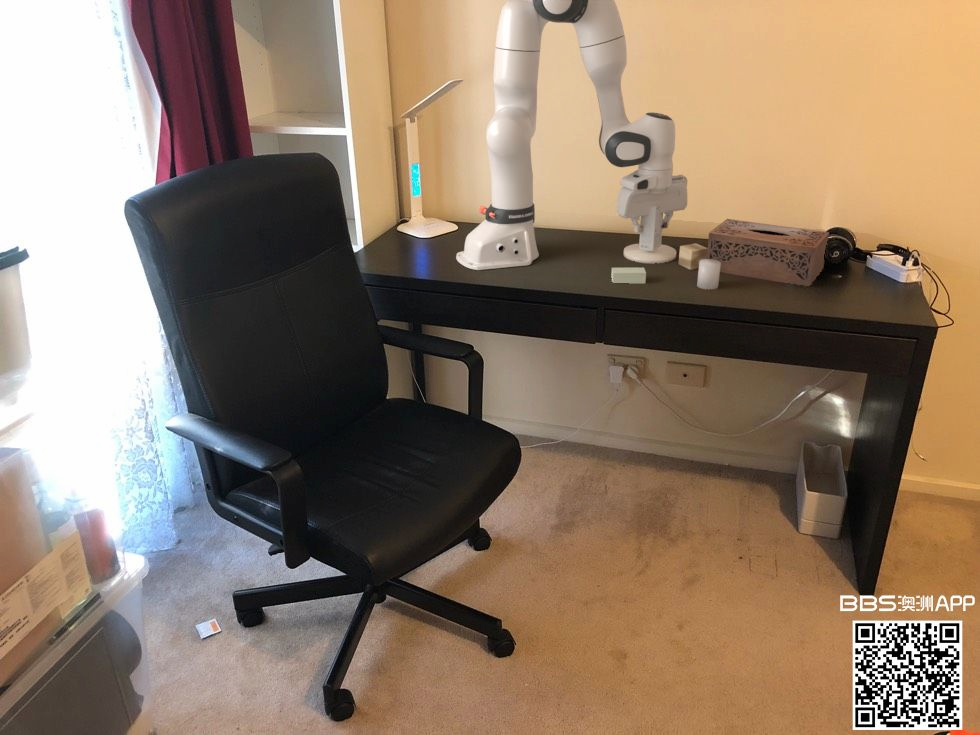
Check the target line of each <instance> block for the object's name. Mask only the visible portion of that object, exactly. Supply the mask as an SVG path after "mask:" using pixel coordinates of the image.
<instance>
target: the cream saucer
mask: <svg viewBox="0 0 980 735" xmlns="http://www.w3.org/2000/svg"><path fill="white" fill-rule="evenodd" d="M623 257H624V258H625V259H627V260H629V261H631V262H634V261H635V263H640V264H648V265H651V264H654V265H655V263H657V264H665V262H666V263H669V262H672V261H673V260H676V258H677V250H676V248H673V247H672V246H670V245H667V244H662V243H661V246H660V247H659V248H657V249H656V250H654V251H648V250H642V249H639V243H633V244H629V245H627V246H625V247H624V249H623Z"/></svg>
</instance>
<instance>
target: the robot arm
mask: <svg viewBox="0 0 980 735" xmlns="http://www.w3.org/2000/svg"><path fill="white" fill-rule="evenodd" d="M549 22H551V23H557V24H558V23H563V24H564V23H565V24H566V23H567V24H572V26H573V28H574V30H575V33H576V37H577V41H578V46H579V51H580V55H581V60H582V62H583V65H584V68H585V70H586V73H587V75H588V77H589V79H590V81H591V82H592V84H593V86H594V89H595V92H596V96H597V102H598V106H599V112H600V117H601V126H600V131H599V137H598V145H599V148H600V151H601V152H602V153H603V155H604V156H605V157H606V159H607V161H608V162H609V163H610V164H611V165H613V166H615V167H617V168H627V167H628V168H629V167H633V166H634V167H635V166H637V169H636V170H634V171H633V172H631V173H629V174H628V175H625V176H623V177H622V178H620V182H619V184H620V186H621V187H622V188H621V189H620V190H619V191H618V195H617V200H616V201H617V203H616V213H617V215H618V216H619V217H621V218H623V219H626V220H627V219H630V221H631V223H632V225H633V232H634V233H636V234H637V233H639V234H640V232H642V226H641V225H640V223H639V221H641V216H646V215H649V213H650V206H651V205H660V206H659V213H663V215H664V216H663V226H662V230H663V229H669V225H670V221H671V220H672V218H673V217H674V212H678V211H679V212H680V211H684V210H685V209H686V208H687V206H688V178H687V177H686V176H685V175H683V174H678V175H673V171H674V163H673V155H674V153H675V149H676V125H675V121H674V120H673V119H672V118H671V117H670V116H669V115H666V114H663V113H661V112H660V113H658V112H647V113H645V114H643V115H642V116H641V117H640V118H638V119H636V120H635V121H632V122H630V121H629V119H628V117H627V115H626V110H625V104H624V98H623V92H622V77H623V74H624V70H625V69H626V67H627V62H628V61H627V52H628V51H627V42H626V37H625V31H624V26H623V22H622V18H621V15H620V12H619V9H618V7H617V3H616V1H615V0H508V1H507V2H505V4H504V5H503V6H502V8H501V12H500V14H499V19H498V22H497V29H496V36H495V45H494V46H495V47H494V60H493V62H494V64H493V74H492V75H493V77H492V78H493V79H492V82H493V95H494V97H493V98H494V101H493V102H494V103H493V104H494V112H493V117H492V118H490V120H489V122H488V123H487V126H486V131H485V137H486V138H485V139H486V147H487V148H486V149H487V150H486V151H487V158H488V164H489V172H490V196H491V200H490V201H491V202H490V205H489V206H488V207H486V206H484V205H480V206H479V207H478V212H479V214H482V215H484V217H485V219H483V221H481V223H479V224H478V225H477V226H476V227H475V228H474V229H473V230H472V231H470V232H469V233H468V234H467V235H466V237H465V239H464V240H465V241H464V248H463V250H462V251H459V252H457V253H456V256H455V258H456V261H457V263H459V264H461V266H464V267H465V268H468V269H471V270H474V271H475V270H476V271H483V270H493V269H494V270H495V269H502V268H513V267H523V266H529V265H531V264H532V263H533V261H534V260H536V259H537V258H539V256H540V253H539V250H538V247H537V246H538V245H537V242H536V234H535V226H534V223H535V216H536V215H535V214H536V213H535V204H534V173H533V164H532V152H531V148H532V147H531V144H532V143H531V141H532V139H533V137H534V135H535V132H536V128H537V126H536V125H537V110H538V109H537V107H538V106H537V105H538V81H539V79H538V78H539V69H540V67H539V66H540V58H541V44H542V36H543V31H544V28H545V27H546V25H547V23H549Z"/></svg>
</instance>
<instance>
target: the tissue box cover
mask: <svg viewBox="0 0 980 735" xmlns="http://www.w3.org/2000/svg"><path fill="white" fill-rule="evenodd" d="M829 237H830V232H829V231H820V230H815V229H807V228H798V227H791V226H784V225H777V224H776V225H774V224H770V223H769V224H768V223H761V222H753V221H747V220H739V219H731V218H726V219H725V220H724V221H722V222H721V223H720V224H719V225H718V226H716V227H715V228H714V229H712V230H711V231H709V232H708V241H707V247H706V248H707V258H706V259H713V260H717V261H720V262H721V266H720V273H724V274H729V275H735V276H742V277H746V278H754V279H760V280H765V281H772V282H776V283H782V282H783V284H788V283H790V284H789V285H794V284H796V285H797V286H800V285H804V286H803V287H806V286H810V285H811V286H812V285H813V283H814V282H815V280H816V279H817V278H818V277H819V275H820V274H821V273H822V272H823V270H824V265H825V260H824V254H825V249H826V245H827V246H828V243H827V241H828V242H829ZM826 250H827V249H826ZM825 255H826V254H825ZM822 269H823V270H822ZM820 272H821V273H820ZM817 276H818V277H817ZM816 277H817V278H816ZM813 281H814V282H813ZM812 282H813V283H812ZM796 285H795V286H796ZM811 286H810V287H811Z"/></svg>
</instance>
